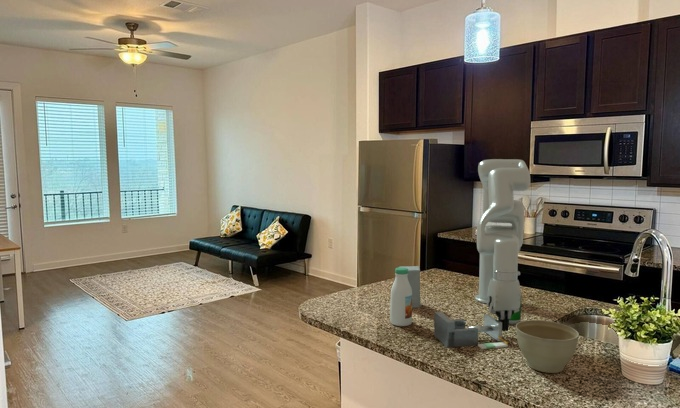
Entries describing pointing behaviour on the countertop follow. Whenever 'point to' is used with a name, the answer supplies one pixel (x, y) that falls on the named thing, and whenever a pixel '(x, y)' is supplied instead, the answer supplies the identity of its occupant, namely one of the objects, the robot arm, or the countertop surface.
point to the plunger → (491, 328)
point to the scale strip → (492, 345)
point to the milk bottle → (401, 299)
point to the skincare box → (414, 284)
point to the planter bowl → (546, 344)
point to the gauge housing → (453, 331)
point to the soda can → (516, 316)
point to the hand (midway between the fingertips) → (503, 329)
